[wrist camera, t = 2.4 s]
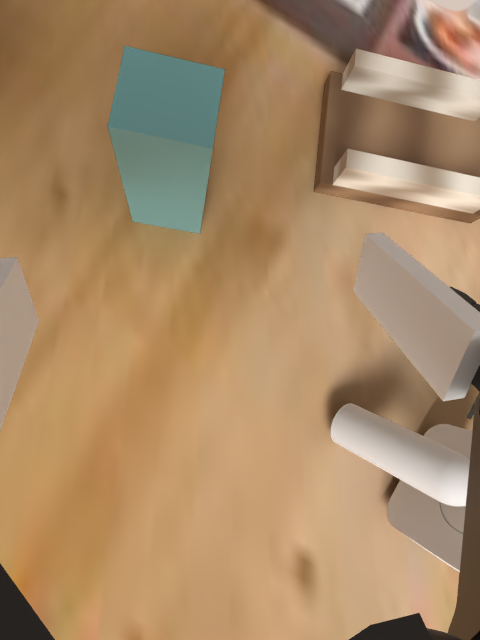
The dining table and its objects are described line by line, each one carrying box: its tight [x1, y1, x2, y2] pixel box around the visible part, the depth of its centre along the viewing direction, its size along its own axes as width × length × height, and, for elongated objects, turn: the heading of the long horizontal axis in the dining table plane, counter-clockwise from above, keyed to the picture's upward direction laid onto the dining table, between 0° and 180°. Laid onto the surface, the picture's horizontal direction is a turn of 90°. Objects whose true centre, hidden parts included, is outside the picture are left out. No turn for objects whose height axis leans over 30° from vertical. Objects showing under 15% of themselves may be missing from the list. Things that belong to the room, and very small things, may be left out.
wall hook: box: [331, 403, 472, 573], centre depth 25 cm, size 8×10×10 cm
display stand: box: [314, 49, 480, 223], centre depth 32 cm, size 14×10×4 cm
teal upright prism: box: [108, 46, 225, 234], centre depth 25 cm, size 5×4×11 cm
